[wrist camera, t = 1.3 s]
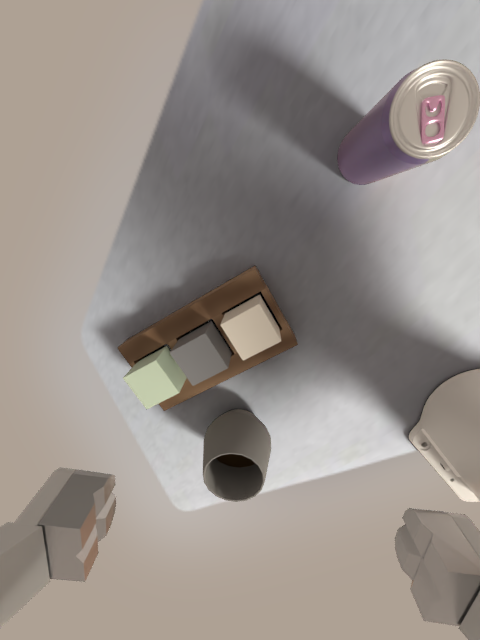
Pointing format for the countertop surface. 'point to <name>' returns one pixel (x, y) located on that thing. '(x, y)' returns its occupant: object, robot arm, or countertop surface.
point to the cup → (236, 455)
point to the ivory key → (251, 327)
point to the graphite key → (201, 353)
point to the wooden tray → (215, 309)
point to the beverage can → (412, 123)
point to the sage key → (155, 378)
